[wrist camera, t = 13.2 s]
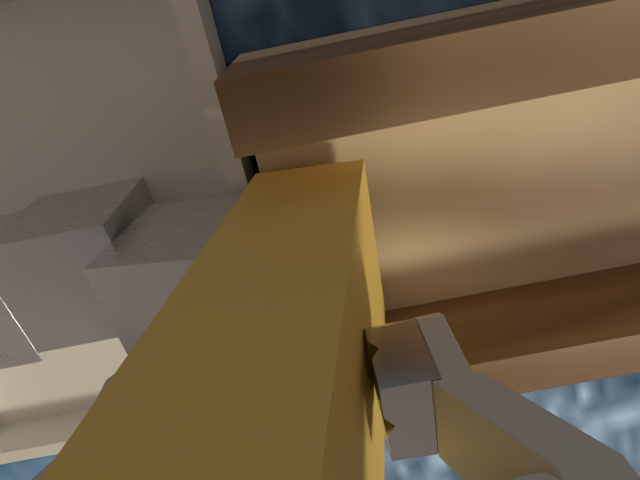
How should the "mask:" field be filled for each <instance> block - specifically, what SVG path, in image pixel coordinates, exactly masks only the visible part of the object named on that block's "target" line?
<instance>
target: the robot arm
mask: <svg viewBox="0 0 640 480" xmlns="http://www.w3.org/2000/svg"><path fill="white" fill-rule="evenodd" d="M364 331H365V337H366V343H367V349H368V353H369V358H370V362H371V371H372V376H373V382H374V387H375V392H376V396H377V400H378V405H379V409H380V410H381V415H382V421H383V426H384V431H385V435H386V439H387V443H388V448H389V452H390V456H391V460H392V461H396V460H403V459H409V458H416V457H422V456H429V455H435V454H439V457H440V458H441V459H442V460H443V461H444V462H445V463H446V464H447V465H448V466H449V467H450V468H451V469H452V470H454V471H455V472H456V473H457V474H458V475H459V476H460V477H461V478H462V479H463V480H640V477H639V476H638V474H637V473H636V472H635V470H634V469H633V468H632V466H631V465H630V464H629V462H628V461H627V460H626V458H625V457H624V456H623V455H622V454H620V453H618V452H617V451H615V450H613V449H611V448H610V447H608V446H606V445H605V444H603V443H601V442H600V441H598V440H596V439H595V438H593V437H591V436H589V435H588V434H586V433H584V432H583V431H581V430H579V429H578V428H576V427H574V426H572V425H571V424H569V423H567V422H566V421H564V420H562V419H561V418H559V417H557V416H555V415H554V414H552V413H550V412H549V411H547V410H545V409H544V408H542V407H540V406H539V405H537V404H535V403H533V402H532V401H530V400H528V399H527V398H525V397H523V396H522V395H520V394H518V393H516V392H515V391H513V390H511V389H510V388H508V387H506V386H505V385H503V384H501V383H499V382H498V381H496V380H494V379H493V378H491V377H489V376H488V375H486V374H484V373H483V372H481V373H475V374H474V373H473V371H472V369H471V367H470V365H469V364H468V362H467V360H466V358H465V356H464V354H463V352H462V350H461V348H460V346H459V344H458V342H457V340H456V338H455V336H454V335H453V333H452V331H451V329H450V327H449V325H448V323H447V321H446V319H445V317H444V315H443V314H441V313H440V312H438V313H434V314H429V315H424V316H420V317H415V318H414V319H408V320H403V321H398V322H393V323H387V324H382V325H377V326H372V327H367V328H364ZM112 377H113V375H112V376H111V377H109V378H108V379H107V380H106V381H105V383H104V385H103V387H102V389H101V391H100V393H99V395H100V394H101V392H102V391H103V390H104V388H105V387H106V385H107V384H108V382H109V381H110V380H111V378H112ZM99 395H98V397H99ZM98 397H97V398H98ZM52 462H53V461H52ZM52 462H51V463H52ZM51 463H49V464H48V465H47V466H46V467H45V468H44V469H43V470H42V471H41V472H39V473H38V474H37V475H36V476H35V477H34V478H33V479H32V480H40V479H41V477H42V476H43V475H44V473H45V472H46V470H47V469H48V468H49V466H50V465H51Z"/></svg>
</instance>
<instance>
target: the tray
mask: <svg viewBox="0 0 640 480" xmlns="http://www.w3.org/2000/svg"><path fill="white" fill-rule="evenodd" d="M226 69H227V67H226V63H225V59H224V55H223V52H222V48H221V44H220V40H219V37H218V33H217V29H216V25H215V22H214V18H213V14H212V11H211V7H210V3H209V0H0V215H5V214H10V213H15V212H20V211H22V210H23V209H25V208H26V207H27V206H28V205H30V204H31V203H32V202H34V201H35V200H36V199H37V198H40V197H45V196H50V195H55V194H59V193H64V192H69V191H74V190H79V189H84V188H89V187H94V186H99V185H104V184H109V183H114V182H119V181H123V180H128V179H133V178H138V177H143V178H144V180H145V183H146V185H147V188H148V190H149V192H150V195H151V197H152V200H153V202H154V204H161V203H169V202H177V201H185V200H193V199H201V198H209V197H217V196H225V195H233V194H241V193H242V192H243V191H244V189H245V188H246V187H247V185H248V184H249V182H250V181H251V179H252V178H253V177H254V175H255V171H254V168H253V164H252V160H251V156H246V157H241V158H236V159H235V156H234V153H233V149H232V146H231V142H230V139H229V135H228V132H227V128H226V125H225V121H224V118H223V114H222V111H221V107H220V104H219V100H218V97H217V93H216V90H215V86H214V83H213V82H214V81H215V80H216V79H217V78H218V77H219V76H220V75H221V74H222V73H223V72H224V71H225V70H226ZM126 357H127V353H126V351H125V349H124V347H123V346H122V344H121V342H120V340H119V338H113V339H108V340H103V341H97V342H92V343H87V344H82V345H77V346H71V347H66V348H61V349H56V350H50V351H49V353H48V354H47V355H46V357H45V358H44V360H43V361H41V362H36V363H30V364H25V365H20V366H15V367H10V368H4V369H0V464H5V463H11V462H16V461H21V460H27V459H32V458H38V457H43V456H49V455H54V454H58V453H59V452H60V451H61V449H62V448H63V446H64V445H65V443H66V442H67V441H68V439H69V438H70V436H71V435H72V433H73V432H74V431H75V429H76V428H77V426H78V425H79V424H80V422H81V421H82V419H83V418H84V416H85V415H86V414H87V412H88V411H89V409H90V408H91V407H92V405H93V404H94V402H95V401H96V399H97V397H98V395H99V393H100V391H101V389H102V387H103V385H104V383H105V381H106V380H107V379H108V378H109V377H111V376H112V375H114V374H115V372H116V371H117V370H118V368H119V367H120V365H121V364H122V363H123V361H124V360H125V358H126Z"/></svg>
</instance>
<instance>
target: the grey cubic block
mask: <svg viewBox="0 0 640 480" xmlns="http://www.w3.org/2000/svg"><path fill="white" fill-rule="evenodd" d="M241 194H242V193H241ZM241 194H233V195H225V196H217V197H209V198H201V199H193V200H185V201H177V202H169V203H161V204H154V205H150V206H149V207H148V208H147V209H146V210H145V211H144V212H143V213H142V214H141V215H140V216H139V217H137V218H136V219H135V220H134V221H133V222H132V223H131V224H130V225H129V226H128V227H127V228H126V229H125V230H124V231H123V232H122V233H121V234H119V235H118V236H117V237H116V238H115V239H114V240H113V241H112V242H111V243H110V244H109V245H108V246H107V247H106V248H105V249H104V250H103V251H101V252H100V253H99V254H98V255H97V256H96V257H95V258H94V259H93V260H92V261H91V262H90V263H89V264H88V265H87V266H86V267H85V268H84V269H82V271H83V272H84V274H85V276H86V278H87V280H88V282H89V284H90V286H91V287H92V289H93V291H94V293H95V295H96V297H97V299H98V301H99V302H100V304H101V306H102V308H103V310H104V312H105V314H106V316H107V317H108V319H109V321H110V323H111V325H112V327H113V329H114V331H115V332H116V334H117V336H118V338H119V340H120V342H121V344H122V346H123V347H124V349H125V351H126V353H127V355H128V354H129V353H130V351H131V350H132V348H133V347H134V346H135V344H136V343H137V341H138V340H139V338H140V337H141V336H142V334H143V333H144V331H145V330H146V328H147V327H148V326H149V324H150V323H151V321H152V320H153V319H154V317H155V316H156V314H157V313H158V311H159V310H160V309H161V307H162V306H163V304H164V303H165V302H166V300H167V299H168V297H169V296H170V294H171V293H172V292H173V290H174V289H175V287H176V286H177V284H178V283H179V282H180V280H181V279H182V277H183V276H184V275H185V273H186V272H187V270H188V269H189V267H190V266H191V265H192V263H193V262H194V260H195V259H196V258H197V256H198V255H199V253H200V252H201V250H202V249H203V248H204V246H205V245H206V243H207V242H208V241H209V239H210V238H211V236H212V235H213V233H214V232H215V231H216V229H217V228H218V226H219V225H220V223H221V222H222V221H223V219H224V218H225V216H226V215H227V214H228V212H229V211H230V209H231V208H232V206H233V205H234V204H235V202H236V201H237V199H238V198H239V197H240V195H241Z"/></svg>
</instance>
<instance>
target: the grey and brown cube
mask: <svg viewBox="0 0 640 480" xmlns="http://www.w3.org/2000/svg"><path fill="white" fill-rule="evenodd" d="M20 212H21V211H20ZM18 213H19V212H15V213H10V214H5V215H0V227H1V226H3V225H4V224H5V223H6V222H8V221H9V220H10V219H12V218H13V217H14V216H15V215H17V214H18ZM48 353H49V351H45V352H40V353H37V352H36V350H35V349H34V347H33V346H32V344H31V343H30V341H29V340H28V338H27V337H26V335H25V334H24V332H23V331H22V329H21V328H20V326H19V325H18V323H17V322H16V320H15V319H14V317H13V316H12V314H11V313H10V311H9V310H8V308H7V307H6V305H5V304H4V302H3V301H2V299H1V298H0V369H4V368H10V367H15V366H20V365H25V364H30V363H36V362H41V361H43V360H44V358H45V357H46V355H47V354H48Z"/></svg>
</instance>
